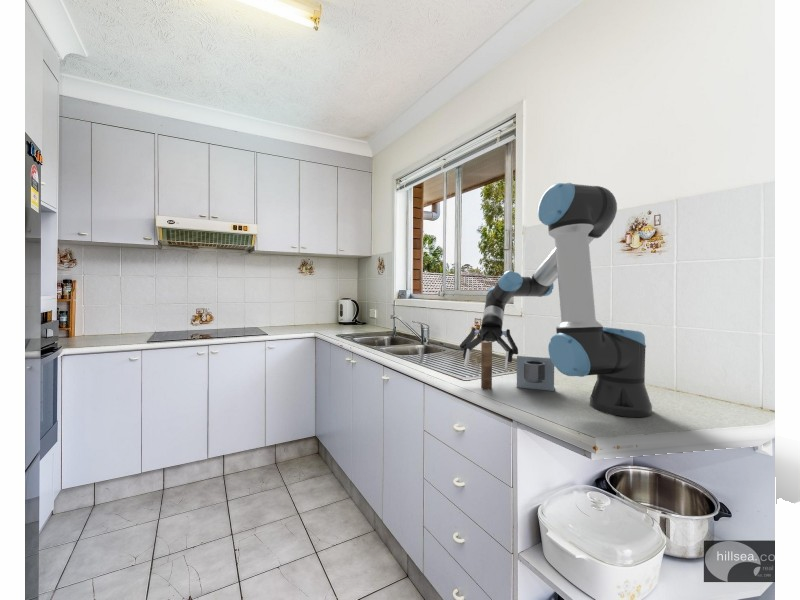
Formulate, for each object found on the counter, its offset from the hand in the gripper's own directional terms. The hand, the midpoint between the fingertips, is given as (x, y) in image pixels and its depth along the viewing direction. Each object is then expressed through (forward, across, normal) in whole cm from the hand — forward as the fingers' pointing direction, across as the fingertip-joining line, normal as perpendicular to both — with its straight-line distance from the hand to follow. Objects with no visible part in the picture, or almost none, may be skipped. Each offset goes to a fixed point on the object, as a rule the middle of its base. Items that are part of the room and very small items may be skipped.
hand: (485, 367), depth 121 cm
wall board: (-2, -16, -12) cm, 20 cm away
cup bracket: (0, -16, -4) cm, 16 cm away
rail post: (+4, 0, -7) cm, 8 cm away
